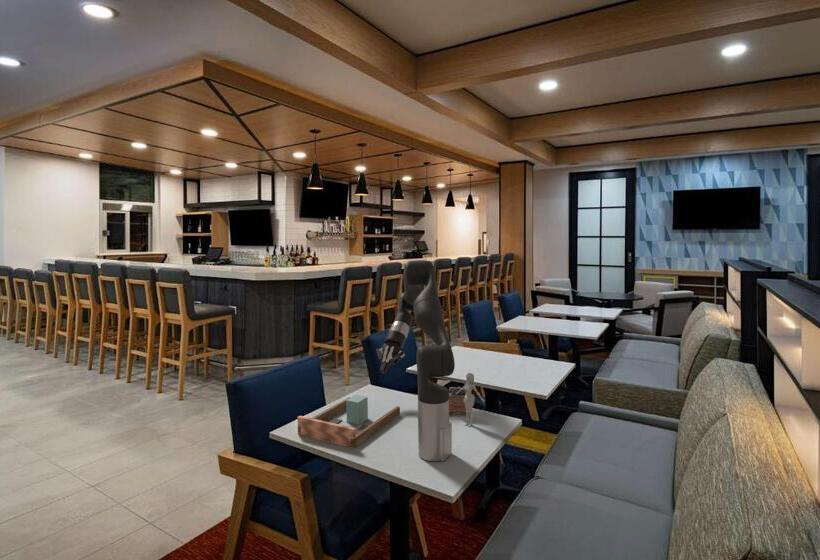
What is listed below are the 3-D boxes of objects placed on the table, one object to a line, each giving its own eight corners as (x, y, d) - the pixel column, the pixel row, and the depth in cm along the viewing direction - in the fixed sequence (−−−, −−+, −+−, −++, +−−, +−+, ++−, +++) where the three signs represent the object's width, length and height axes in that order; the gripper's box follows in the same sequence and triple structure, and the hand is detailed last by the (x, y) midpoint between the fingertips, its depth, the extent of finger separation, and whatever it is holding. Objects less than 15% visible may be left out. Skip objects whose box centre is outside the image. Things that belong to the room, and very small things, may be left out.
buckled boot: (469, 412, 171) (469, 386, 170) (469, 416, 167) (469, 389, 166) (447, 411, 171) (447, 385, 170) (447, 415, 168) (447, 388, 167)
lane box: (400, 414, 169) (399, 398, 169) (353, 448, 143) (353, 429, 143) (349, 404, 180) (349, 389, 179) (298, 434, 154) (297, 416, 153)
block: (367, 418, 166) (367, 396, 165) (358, 424, 161) (358, 402, 160) (356, 416, 169) (355, 394, 168) (346, 422, 163) (346, 400, 163)
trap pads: (374, 428, 158) (374, 426, 158) (361, 437, 151) (361, 436, 151) (331, 418, 166) (331, 417, 166) (317, 427, 159) (317, 426, 159)
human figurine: (452, 421, 163) (452, 371, 161) (458, 418, 165) (458, 369, 164) (480, 431, 155) (481, 378, 153) (487, 427, 157) (487, 376, 155)
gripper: (380, 328, 189) (364, 365, 179) (408, 331, 183) (393, 369, 173) (387, 338, 194) (372, 374, 185) (415, 341, 188) (401, 379, 178)
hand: (382, 372), depth 179 cm, fingers closed
